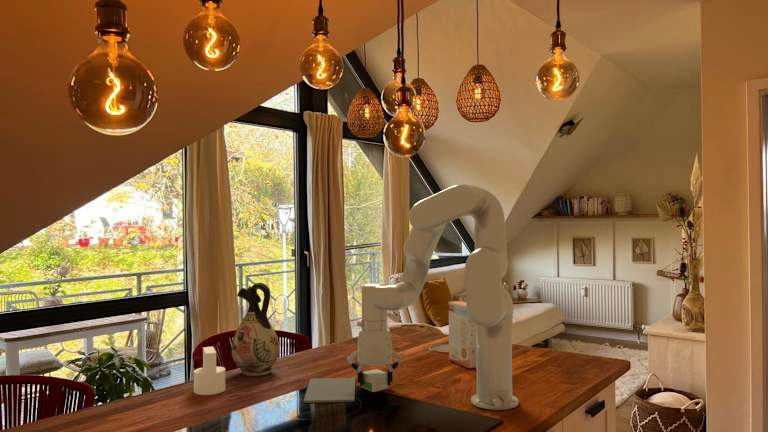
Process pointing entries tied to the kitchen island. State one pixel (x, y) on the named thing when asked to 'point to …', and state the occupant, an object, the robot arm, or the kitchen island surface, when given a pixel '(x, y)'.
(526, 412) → the kitchen island surface
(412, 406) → the kitchen island surface
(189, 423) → the kitchen island surface
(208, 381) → the cylinder with rectangular tab
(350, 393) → the mat
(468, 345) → the cracker box
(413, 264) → the robot arm
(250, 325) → the ceramic jug
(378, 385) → the small box
